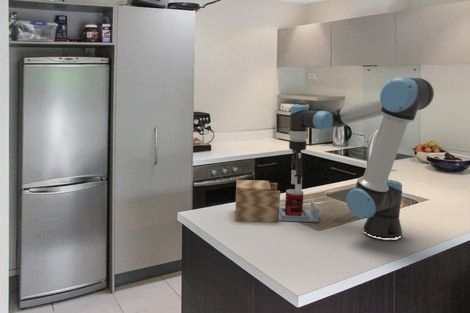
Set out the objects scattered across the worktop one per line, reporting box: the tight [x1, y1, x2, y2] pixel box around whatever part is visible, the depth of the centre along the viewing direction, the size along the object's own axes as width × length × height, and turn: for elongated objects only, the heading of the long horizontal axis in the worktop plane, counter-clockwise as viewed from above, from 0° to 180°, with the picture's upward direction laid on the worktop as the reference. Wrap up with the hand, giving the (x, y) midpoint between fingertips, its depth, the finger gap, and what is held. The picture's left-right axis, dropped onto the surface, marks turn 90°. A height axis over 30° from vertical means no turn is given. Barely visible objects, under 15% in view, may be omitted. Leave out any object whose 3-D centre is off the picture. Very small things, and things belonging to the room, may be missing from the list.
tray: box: [279, 200, 320, 223], centre depth 192 cm, size 20×13×6 cm, turn 90°
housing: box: [234, 179, 281, 223], centre depth 191 cm, size 19×15×15 cm
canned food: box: [284, 188, 304, 216], centre depth 191 cm, size 8×8×11 cm
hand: (296, 187), depth 189 cm, fingers open, 13 cm apart
